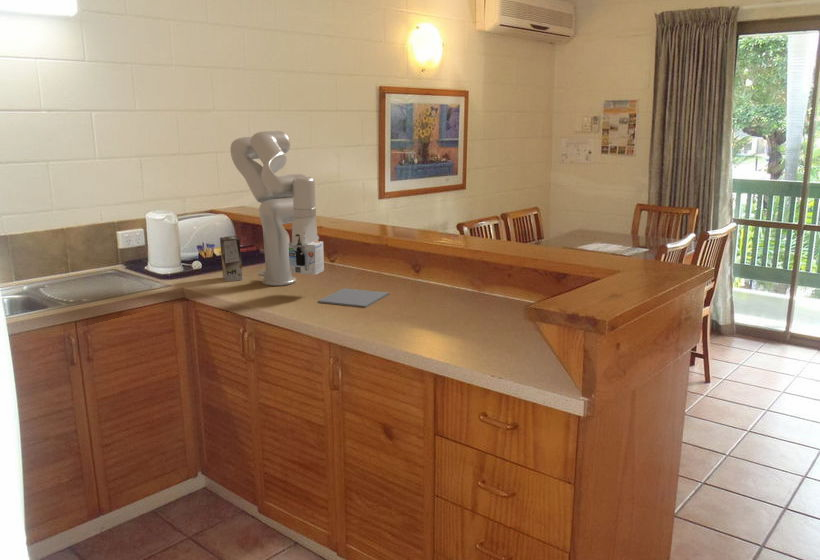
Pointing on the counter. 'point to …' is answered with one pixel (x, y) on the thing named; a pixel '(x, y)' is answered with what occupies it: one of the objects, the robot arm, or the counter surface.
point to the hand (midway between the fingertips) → (306, 262)
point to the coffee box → (231, 258)
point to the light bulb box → (308, 259)
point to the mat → (353, 297)
